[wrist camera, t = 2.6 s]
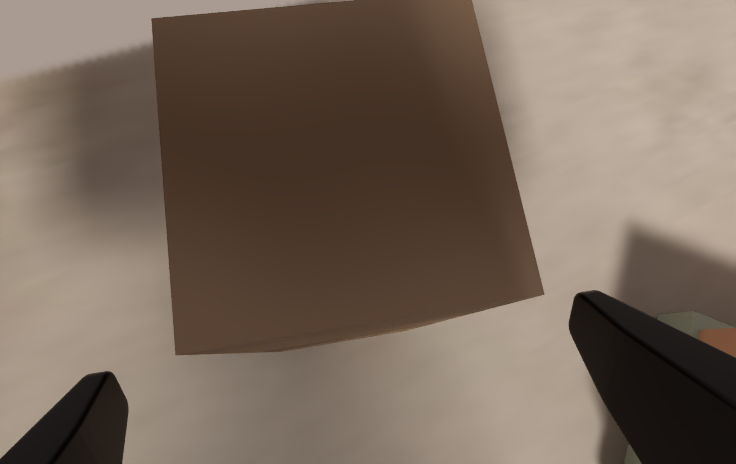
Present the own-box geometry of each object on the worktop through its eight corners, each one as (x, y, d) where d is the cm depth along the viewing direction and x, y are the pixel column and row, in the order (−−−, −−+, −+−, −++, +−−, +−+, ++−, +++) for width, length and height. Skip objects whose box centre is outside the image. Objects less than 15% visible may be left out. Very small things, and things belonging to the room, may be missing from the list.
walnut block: (405, 330, 19) (544, 294, 7) (280, 351, 19) (175, 354, 6) (383, 212, 20) (468, -10, 8) (265, 228, 20) (151, 18, 7)
